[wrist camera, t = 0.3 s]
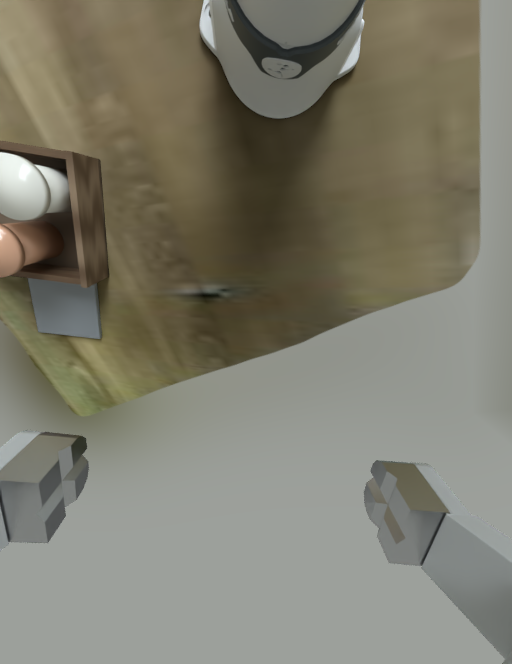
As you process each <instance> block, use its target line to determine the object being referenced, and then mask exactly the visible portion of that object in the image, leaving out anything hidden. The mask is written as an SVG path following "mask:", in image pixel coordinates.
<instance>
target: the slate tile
mask: <svg viewBox="0 0 512 664" xmlns="http://www.w3.org/2000/svg"><path fill="white" fill-rule="evenodd" d="M28 283H29V288H30V292H31V297H32V302H33V307H34V312H35V317H36V322H37V327H38V332H43V333H52V334H61V335H69V336H78V337H87V338H96V339H100V338H101V337H102V331H101V321H100V311H99V300H98V290H97V283H96V284H94V285H92V286H90V287H88V288H84V287H81V285H80V284H72V283H64V282H56V281H48V280H40V279H32V278H28Z"/></svg>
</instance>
